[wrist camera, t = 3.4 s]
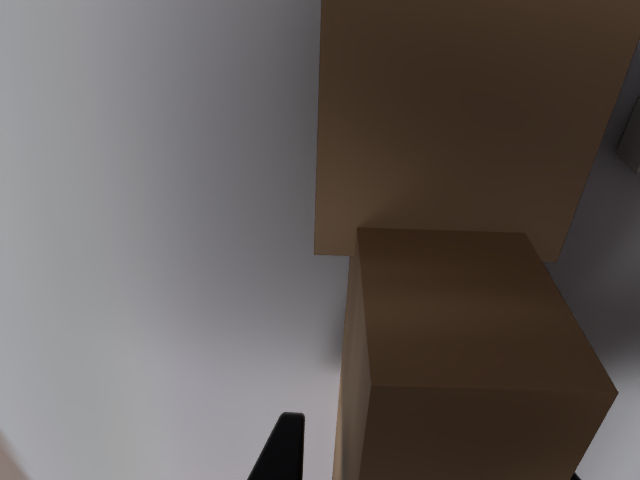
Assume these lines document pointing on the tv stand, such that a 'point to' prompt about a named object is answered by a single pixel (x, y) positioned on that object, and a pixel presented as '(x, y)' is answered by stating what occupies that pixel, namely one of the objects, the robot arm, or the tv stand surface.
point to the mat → (631, 141)
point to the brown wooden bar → (463, 228)
